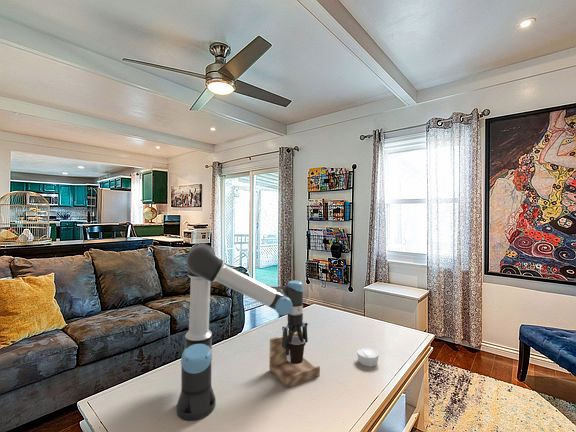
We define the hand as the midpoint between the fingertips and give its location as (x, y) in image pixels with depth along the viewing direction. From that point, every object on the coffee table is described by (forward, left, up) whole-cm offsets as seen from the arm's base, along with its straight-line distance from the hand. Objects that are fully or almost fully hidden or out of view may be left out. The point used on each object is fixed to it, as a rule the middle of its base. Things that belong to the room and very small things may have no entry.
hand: (294, 358), depth 141 cm
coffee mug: (+1, 0, 0) cm, 1 cm away
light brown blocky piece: (0, 0, -7) cm, 7 cm away
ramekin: (+39, -11, -7) cm, 42 cm away
